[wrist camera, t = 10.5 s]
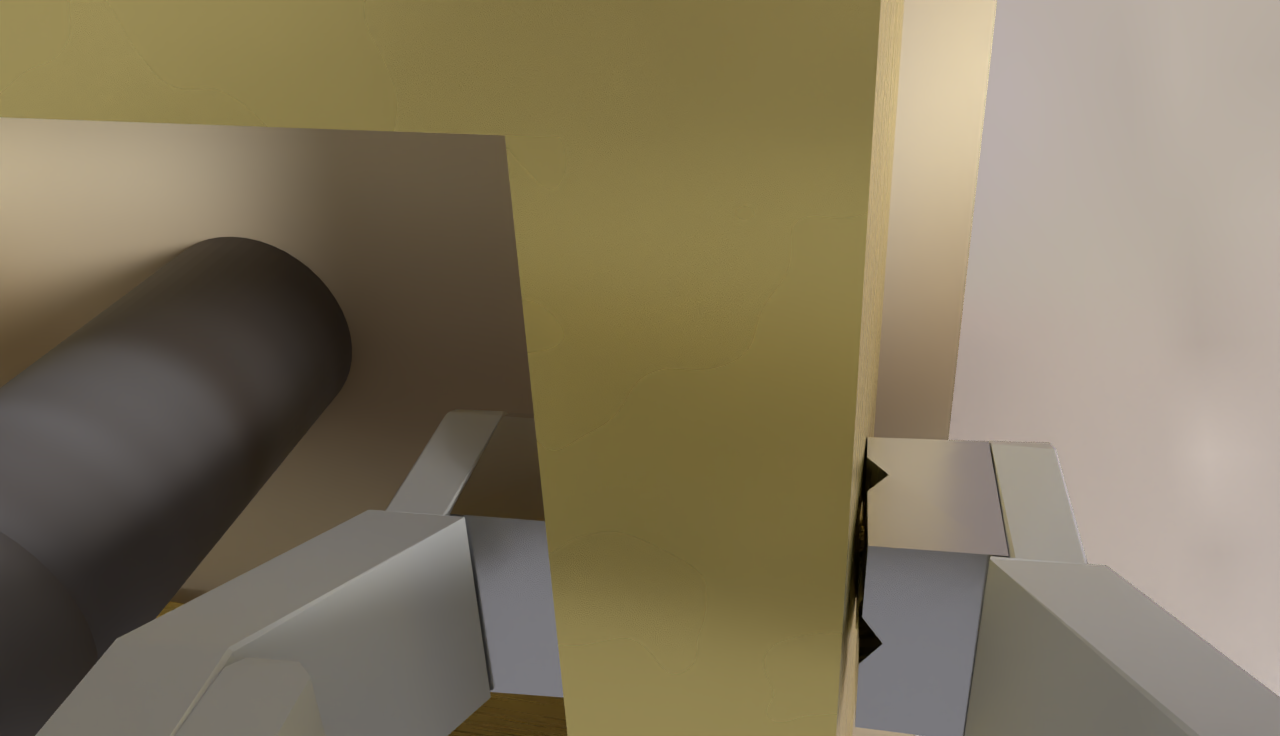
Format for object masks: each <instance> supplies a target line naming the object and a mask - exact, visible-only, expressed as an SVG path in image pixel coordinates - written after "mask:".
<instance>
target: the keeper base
mask: <svg viewBox="0 0 1280 736" xmlns="http://www.w3.org/2000/svg"><path fill="white" fill-rule="evenodd" d="M996 5H997V0H904V15H903V29H902V43H901V57H900V71H899V85H898V99H897V113H896V127H895V141H894V155H893V170H892V184H891V198H890V212H889V226H888V240H887V254H886V268H885V282H884V296H883V310H882V325H881V339H880V353H879V367H878V381H877V395H876V409H875V423H874V437H879V438H908V439H937V440H948V437H949V428H950V419H951V410H952V401H953V392H954V383H955V374H956V365H957V356H958V347H959V338H960V329H961V320H962V311H963V302H964V293H965V284H966V275H967V266H968V257H969V248H970V239H971V230H972V221H973V212H974V203H975V194H976V185H977V176H978V167H979V158H980V149H981V140H982V131H983V122H984V113H985V104H986V95H987V86H988V77H989V68H990V59H991V50H992V41H993V32H994V23H995V14H996ZM456 409H464V410H486V411H504V412H506V413H510V412H512V413H525V414H534V410H533V401H532V391H531V381H530V372H529V362H528V353H527V343H526V334H525V324H524V315H523V305H522V295H521V286H520V276H519V267H518V257H517V248H516V238H515V229H514V219H513V209H512V200H511V190H510V181H509V171H508V162H507V152H506V143H505V135H479V134H451V133H423V132H395V131H367V130H339V129H311V128H283V127H255V126H227V125H199V124H170V123H142V122H114V121H86V120H58V119H30V118H2V117H0V736H35V735H36V734H37V733H38V732H39V731H40V729H41V728H42V727H43V726H44V725H45V723H46V722H47V721H48V720H49V719H50V717H51V716H52V715H53V714H54V713H55V711H56V710H57V709H58V708H59V707H60V706H61V704H62V703H63V702H64V701H65V700H66V698H67V697H68V696H69V695H70V694H71V692H72V691H73V690H74V689H75V688H76V686H77V685H78V684H79V683H80V682H81V681H82V679H83V678H84V677H85V676H86V675H87V673H88V672H89V671H90V670H91V669H92V667H93V666H94V665H95V664H96V663H97V661H98V660H99V659H100V658H101V657H102V656H103V654H104V653H105V652H106V651H107V650H108V648H109V647H110V646H111V645H112V644H113V642H114V641H115V640H116V639H117V638H119V637H121V636H123V635H125V634H127V633H129V632H131V631H133V630H135V629H137V628H139V627H141V626H143V625H145V624H146V623H148V622H150V621H152V620H154V619H156V617H157V616H158V615H159V614H160V613H161V611H162V610H163V609H164V608H165V606H166V605H167V604H168V603H169V601H171V602H178V603H184V604H186V603H187V602H189V601H191V600H193V599H195V598H197V597H199V596H201V595H203V594H205V593H207V592H209V591H211V590H213V589H215V588H217V587H219V586H221V585H223V584H225V583H227V582H228V581H230V580H232V579H234V578H236V577H238V576H240V575H242V574H244V573H246V572H248V571H250V570H252V569H254V568H256V567H258V566H260V565H262V564H264V563H266V562H268V561H269V560H271V559H273V558H275V557H277V556H279V555H281V554H283V553H285V552H287V551H289V550H291V549H293V548H295V547H297V546H299V545H301V544H303V543H305V542H307V541H309V540H310V539H312V538H314V537H316V536H318V535H320V534H322V533H324V532H326V531H328V530H330V529H332V528H334V527H336V526H338V525H340V524H342V523H344V522H346V521H348V520H350V519H351V518H353V517H355V516H357V515H359V514H361V513H363V512H365V511H367V510H382V511H385V510H386V508H387V507H388V505H389V503H390V502H391V500H392V499H393V497H394V496H395V494H396V492H397V491H398V489H399V488H400V486H401V484H402V483H403V481H404V480H405V478H406V477H407V475H408V473H409V472H410V470H411V469H412V467H413V465H414V464H415V462H416V461H417V459H418V458H419V456H420V454H421V453H422V451H423V450H424V448H425V446H426V445H427V443H428V442H429V440H430V439H431V437H432V435H433V434H434V432H435V431H436V429H437V427H438V426H439V424H440V423H441V421H442V419H443V418H444V416H445V415H446V414H447V413H448V412H450V411H453V410H456ZM852 736H915V735H913V734H905V733H897V732H890V731H882V730H874V729H866V728H859V727H855V705H854V719H853V733H852Z"/></svg>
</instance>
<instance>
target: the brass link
mask: <svg viewBox="0 0 1280 736" xmlns="http://www.w3.org/2000/svg"><path fill="white" fill-rule="evenodd" d="M903 15H904V0H0V117H2V118H30V119H58V120H86V121H114V122H142V123H170V124H199V125H227V126H255V127H283V128H311V129H339V130H367V131H395V132H423V133H451V134H479V135H505V143H506V152H507V162H508V171H509V181H510V190H511V200H512V209H513V219H514V229H515V238H516V248H517V257H518V267H519V276H520V286H521V295H522V305H523V315H524V324H525V334H526V343H527V353H528V362H529V372H530V381H531V391H532V401H533V410H534V420H535V429H536V439H537V448H538V458H539V467H540V477H541V487H542V496H543V506H544V515H545V525H546V534H547V544H548V553H549V563H550V573H551V582H552V592H553V601H554V611H555V620H556V630H557V639H558V649H559V659H560V668H561V678H562V687H563V697H551V696H538V695H524V694H511V693H498V692H490V695H491V698H490V699H488V700H487V701H486V702H485V703H484V704H483V705H482V706H481V707H479V708H478V709H477V710H476V711H475V712H474V713H473V714H472V715H470V716H469V717H468V718H467V719H466V720H465V721H464V722H463V723H461V724H460V725H459V726H458V727H457V728H456V729H455V730H453V731H452V732H451V733H450V734H449V735H448V736H852V733H853V719H854V705H855V658H856V641H857V629H856V628H855V625H856V589H857V573H858V560H859V543H860V535H861V527H862V499H863V485H864V471H865V457H866V443H867V437H874V423H875V409H876V395H877V381H878V367H879V353H880V339H881V325H882V310H883V296H884V282H885V268H886V254H887V240H888V226H889V212H890V198H891V184H892V170H893V155H894V141H895V127H896V113H897V99H898V85H899V71H900V57H901V43H902V29H903ZM182 605H184V603H178V602H171V601H169V603H168V604H167V605H166V606H165V608H164V609H163V610H162V611H161V613H160V614H159V615H158V616H157V617H156V618H158V617H160V616H162V615H164V614H166V613H168V612H170V611H172V610H174V609H176V608H178V607H180V606H182Z"/></svg>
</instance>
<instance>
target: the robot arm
mask: <svg viewBox="0 0 1280 736" xmlns="http://www.w3.org/2000/svg"><path fill="white" fill-rule="evenodd" d="M855 628H856V629H857V641H856V658H855V727H859V728H866V729H874V730H882V731H890V732H897V733H905V734H913V735H920V736H1280V697H1279V696H1278V695H1276V694H1275V693H1274V692H1272V691H1271V690H1270V689H1268V688H1267V687H1266V686H1264V685H1263V684H1262V683H1261V682H1259V681H1258V680H1257V679H1255V678H1254V677H1253V676H1251V675H1250V674H1249V673H1247V672H1246V671H1245V670H1243V669H1242V668H1241V667H1240V666H1238V665H1237V664H1236V663H1234V662H1233V661H1232V660H1230V659H1229V658H1228V657H1226V656H1225V655H1224V654H1222V653H1221V652H1220V651H1219V650H1217V649H1216V648H1215V647H1213V646H1212V645H1211V644H1209V643H1208V642H1207V641H1205V640H1204V639H1203V638H1201V637H1200V636H1199V635H1197V634H1196V633H1195V632H1194V631H1192V630H1191V629H1190V628H1188V627H1187V626H1186V625H1184V624H1183V623H1182V622H1180V621H1179V620H1178V619H1176V618H1175V617H1174V616H1173V615H1171V614H1170V613H1169V612H1167V611H1166V610H1165V609H1163V608H1162V607H1161V606H1159V605H1158V604H1157V603H1155V602H1154V601H1153V600H1151V599H1150V598H1149V597H1148V596H1146V595H1145V594H1144V593H1142V592H1141V591H1140V590H1138V589H1137V588H1136V587H1134V586H1133V585H1132V584H1130V583H1129V582H1128V581H1127V580H1125V579H1124V578H1123V577H1121V576H1120V575H1119V574H1117V573H1116V572H1115V571H1113V570H1112V569H1111V568H1109V567H1108V566H1106V565H1095V564H1088V563H1087V559H1086V555H1085V552H1084V548H1083V544H1082V541H1081V537H1080V534H1079V530H1078V526H1077V523H1076V519H1075V516H1074V512H1073V508H1072V505H1071V501H1070V498H1069V494H1068V490H1067V487H1066V483H1065V480H1064V476H1063V472H1062V469H1061V465H1060V461H1059V458H1058V454H1057V451H1056V448H1055V447H1054V446H1053V445H1051V444H1050V443H1049V442H1006V441H965V440H937V439H908V438H879V437H867V443H866V457H865V471H864V485H863V499H862V527H861V535H860V543H859V560H858V573H857V589H856V625H855ZM490 692H498V693H511V694H524V695H538V696H551V697H563V687H562V678H561V668H560V659H559V649H558V639H557V630H556V620H555V611H554V601H553V592H552V582H551V573H550V563H549V553H548V544H547V534H546V525H545V515H544V506H543V496H542V487H541V477H540V467H539V458H538V448H537V439H536V429H535V420H534V414H525V413H512V412H510V413H506V412H504V411H486V410H464V409H456V410H453V411H450V412H448V413H447V414H446V415H445V416H444V418H443V419H442V421H441V423H440V424H439V426H438V427H437V429H436V431H435V432H434V434H433V435H432V437H431V439H430V440H429V442H428V443H427V445H426V446H425V448H424V450H423V451H422V453H421V454H420V456H419V458H418V459H417V461H416V462H415V464H414V465H413V467H412V469H411V470H410V472H409V473H408V475H407V477H406V478H405V480H404V481H403V483H402V484H401V486H400V488H399V489H398V491H397V492H396V494H395V496H394V497H393V499H392V500H391V502H390V503H389V505H388V507H387V508H386V510H385V511H382V510H367V511H365V512H363V513H361V514H359V515H357V516H355V517H353V518H351V519H350V520H348V521H346V522H344V523H342V524H340V525H338V526H336V527H334V528H332V529H330V530H328V531H326V532H324V533H322V534H320V535H318V536H316V537H314V538H312V539H310V540H309V541H307V542H305V543H303V544H301V545H299V546H297V547H295V548H293V549H291V550H289V551H287V552H285V553H283V554H281V555H279V556H277V557H275V558H273V559H271V560H269V561H268V562H266V563H264V564H262V565H260V566H258V567H256V568H254V569H252V570H250V571H248V572H246V573H244V574H242V575H240V576H238V577H236V578H234V579H232V580H230V581H228V582H227V583H225V584H223V585H221V586H219V587H217V588H215V589H213V590H211V591H209V592H207V593H205V594H203V595H201V596H199V597H197V598H195V599H193V600H191V601H189V602H187V603H186V604H184V605H182V606H180V607H178V608H176V609H174V610H172V611H170V612H168V613H166V614H164V615H162V616H160V617H158V618H156V619H154V620H152V621H150V622H148V623H146V624H145V625H143V626H141V627H139V628H137V629H135V630H133V631H131V632H129V633H127V634H125V635H123V636H121V637H119V638H117V639H116V640H115V641H114V642H113V644H112V645H111V646H110V647H109V648H108V650H107V651H106V652H105V653H104V654H103V656H102V657H101V658H100V659H99V660H98V661H97V663H96V664H95V665H94V666H93V667H92V669H91V670H90V671H89V672H88V673H87V675H86V676H85V677H84V678H83V679H82V681H81V682H80V683H79V684H78V685H77V686H76V688H75V689H74V690H73V691H72V692H71V694H70V695H69V696H68V697H67V698H66V700H65V701H64V702H63V703H62V704H61V706H60V707H59V708H58V709H57V710H56V711H55V713H54V714H53V715H52V716H51V717H50V719H49V720H48V721H47V722H46V723H45V725H44V726H43V727H42V728H41V729H40V731H39V732H38V733H37V734H36V735H35V736H448V735H449V734H450V733H451V732H452V731H453V730H455V729H456V728H457V727H458V726H459V725H460V724H461V723H463V722H464V721H465V720H466V719H467V718H468V717H469V716H470V715H472V714H473V713H474V712H475V711H476V710H477V709H478V708H479V707H481V706H482V705H483V704H484V703H485V702H486V701H487V700H488V699H490V698H491V695H490Z"/></svg>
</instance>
